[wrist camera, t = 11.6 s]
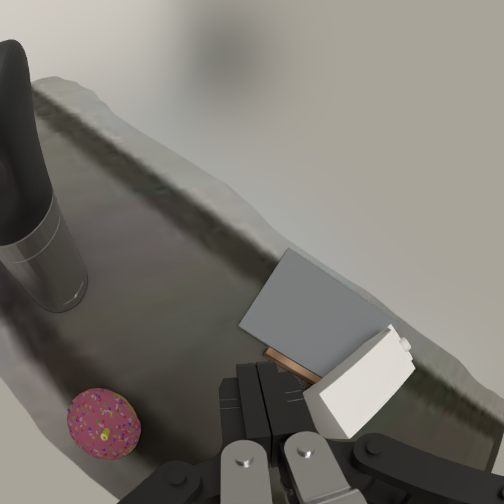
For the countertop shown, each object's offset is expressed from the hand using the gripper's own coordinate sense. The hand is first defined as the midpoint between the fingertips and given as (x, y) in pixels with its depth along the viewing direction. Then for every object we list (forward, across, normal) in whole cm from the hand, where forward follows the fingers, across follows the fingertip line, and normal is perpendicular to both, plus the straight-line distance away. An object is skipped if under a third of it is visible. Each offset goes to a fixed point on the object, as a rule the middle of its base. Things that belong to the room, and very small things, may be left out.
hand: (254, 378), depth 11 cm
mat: (+26, -15, +17) cm, 35 cm away
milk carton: (+12, -9, +21) cm, 26 cm away
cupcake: (+13, +16, +20) cm, 29 cm away
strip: (+20, -10, +21) cm, 30 cm away
